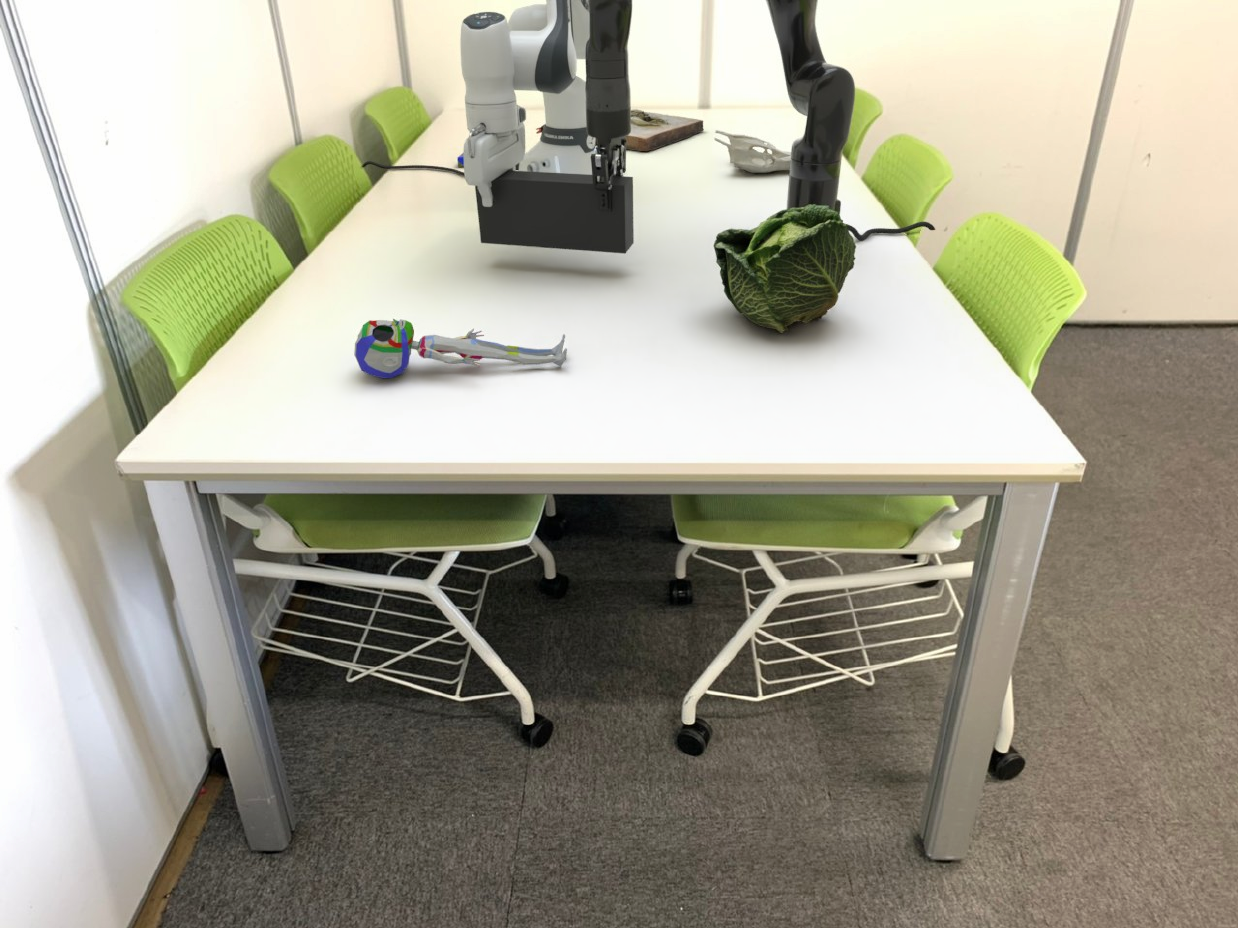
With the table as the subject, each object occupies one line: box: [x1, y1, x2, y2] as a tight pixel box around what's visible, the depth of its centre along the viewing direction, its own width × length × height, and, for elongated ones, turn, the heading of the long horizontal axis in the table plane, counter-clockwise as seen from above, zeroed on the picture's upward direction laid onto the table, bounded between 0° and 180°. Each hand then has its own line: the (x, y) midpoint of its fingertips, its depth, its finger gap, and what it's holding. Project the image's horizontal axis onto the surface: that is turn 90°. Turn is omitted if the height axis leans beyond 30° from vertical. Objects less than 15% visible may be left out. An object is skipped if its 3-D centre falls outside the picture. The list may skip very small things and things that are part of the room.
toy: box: [353, 318, 568, 379], centre depth 130 cm, size 10×8×30 cm
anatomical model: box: [714, 130, 791, 174], centre depth 222 cm, size 15×9×25 cm
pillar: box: [456, 151, 464, 168], centre depth 239 cm, size 2×2×20 cm
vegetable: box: [713, 204, 857, 334], centre depth 140 cm, size 20×19×20 cm
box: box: [474, 170, 635, 254], centre depth 161 cm, size 28×6×12 cm, turn 75°
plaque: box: [595, 108, 705, 152], centre depth 257 cm, size 30×7×30 cm
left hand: (498, 198), depth 162 cm, fingers open, 8 cm apart
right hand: (610, 205), depth 158 cm, fingers closed on box, 5 cm apart
